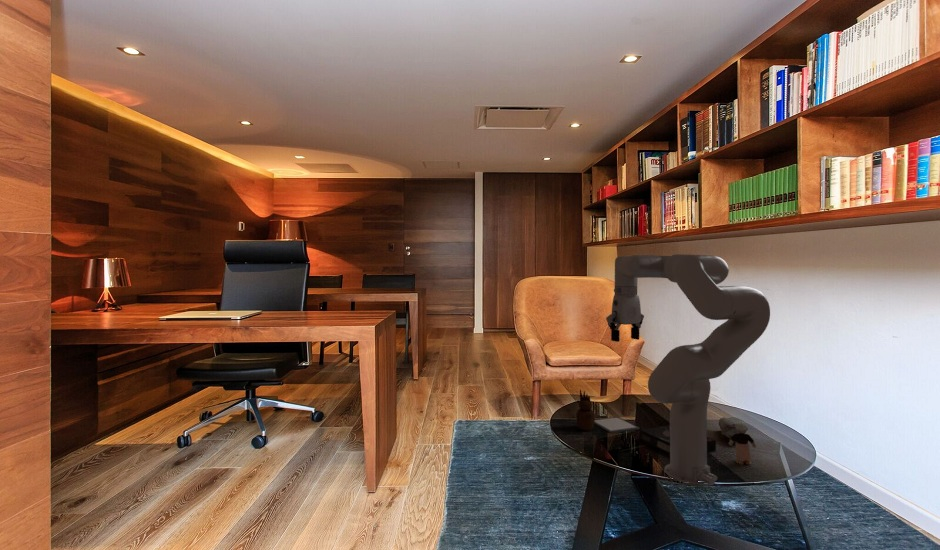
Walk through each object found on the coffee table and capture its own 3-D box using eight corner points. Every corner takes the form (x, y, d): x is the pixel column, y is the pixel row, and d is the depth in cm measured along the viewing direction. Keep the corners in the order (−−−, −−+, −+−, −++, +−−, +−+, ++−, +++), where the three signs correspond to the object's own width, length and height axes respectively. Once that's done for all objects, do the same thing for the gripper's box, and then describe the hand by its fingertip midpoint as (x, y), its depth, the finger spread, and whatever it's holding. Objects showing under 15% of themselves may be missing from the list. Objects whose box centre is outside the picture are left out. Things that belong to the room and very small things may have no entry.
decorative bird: (730, 431, 156) (730, 411, 156) (746, 448, 140) (746, 426, 140) (714, 430, 157) (714, 410, 157) (728, 447, 142) (728, 425, 142)
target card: (639, 429, 158) (639, 427, 158) (610, 433, 154) (610, 431, 154) (617, 418, 170) (617, 416, 170) (590, 421, 166) (590, 420, 166)
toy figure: (749, 459, 131) (748, 419, 131) (758, 465, 127) (757, 423, 127) (725, 460, 131) (725, 419, 131) (733, 465, 127) (733, 424, 127)
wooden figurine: (574, 430, 157) (574, 390, 157) (578, 425, 162) (578, 387, 163) (592, 433, 154) (592, 392, 154) (596, 428, 159) (595, 389, 159)
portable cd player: (639, 441, 147) (639, 430, 147) (675, 434, 153) (675, 424, 153) (677, 460, 132) (676, 447, 132) (715, 452, 138) (715, 440, 138)
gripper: (616, 292, 138) (615, 343, 138) (651, 291, 146) (651, 339, 146) (599, 291, 145) (599, 340, 145) (634, 290, 153) (634, 336, 153)
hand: (625, 340), depth 146 cm, fingers open, 9 cm apart
